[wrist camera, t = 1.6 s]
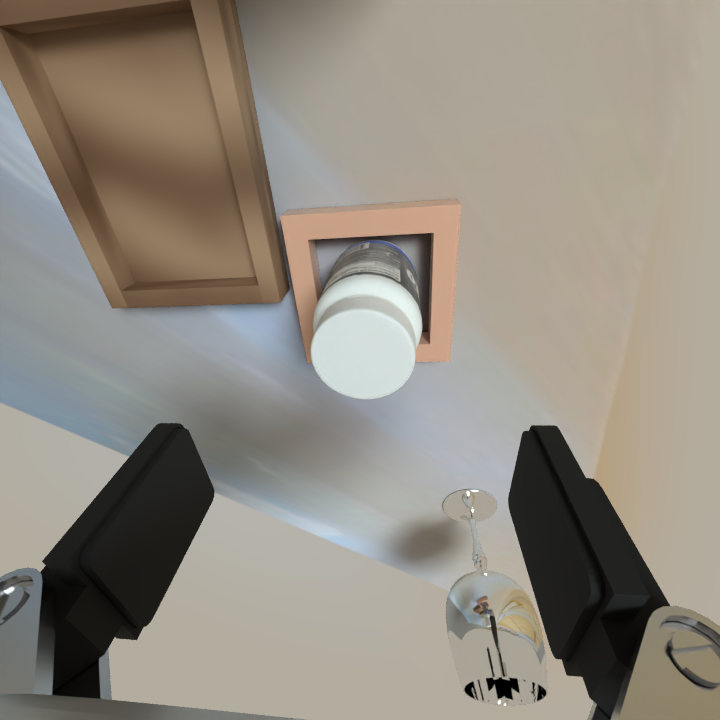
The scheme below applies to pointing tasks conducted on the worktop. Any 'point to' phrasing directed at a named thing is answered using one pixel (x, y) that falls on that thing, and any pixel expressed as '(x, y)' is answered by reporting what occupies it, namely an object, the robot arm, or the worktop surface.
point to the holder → (378, 222)
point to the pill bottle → (368, 321)
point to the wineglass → (492, 622)
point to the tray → (149, 144)
